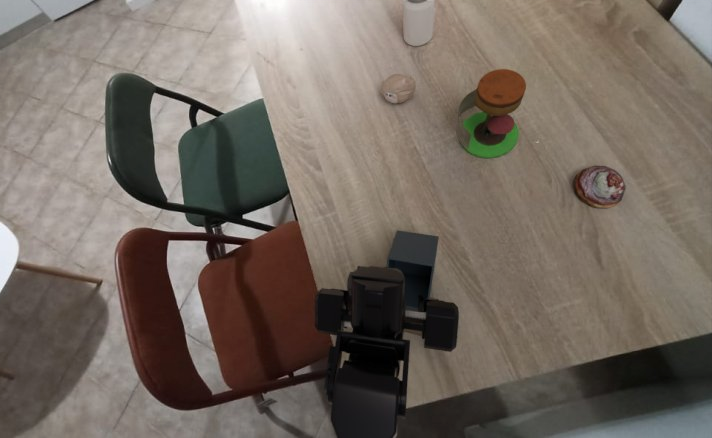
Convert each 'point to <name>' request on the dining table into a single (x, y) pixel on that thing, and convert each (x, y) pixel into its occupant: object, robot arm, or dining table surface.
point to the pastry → (599, 186)
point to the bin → (414, 264)
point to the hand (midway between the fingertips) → (388, 294)
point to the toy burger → (491, 114)
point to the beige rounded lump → (398, 88)
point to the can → (418, 21)
